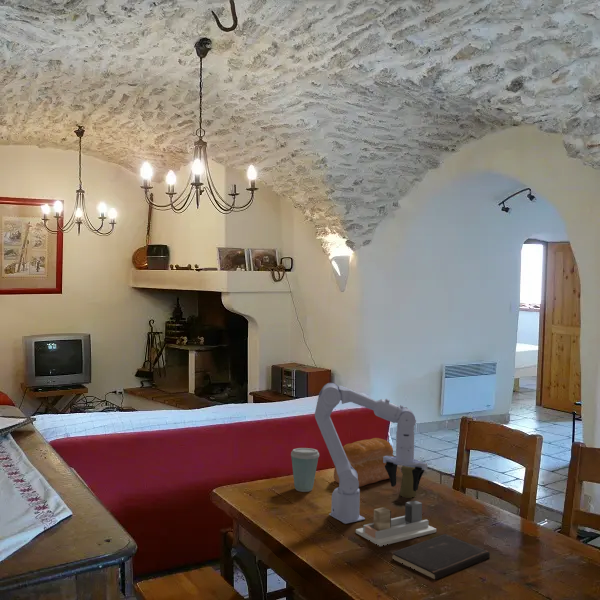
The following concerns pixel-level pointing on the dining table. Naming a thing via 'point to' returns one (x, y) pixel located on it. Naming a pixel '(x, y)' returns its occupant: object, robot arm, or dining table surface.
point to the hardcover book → (440, 556)
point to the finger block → (382, 519)
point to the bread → (368, 460)
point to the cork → (407, 482)
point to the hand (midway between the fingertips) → (404, 488)
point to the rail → (399, 527)
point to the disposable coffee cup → (304, 468)
